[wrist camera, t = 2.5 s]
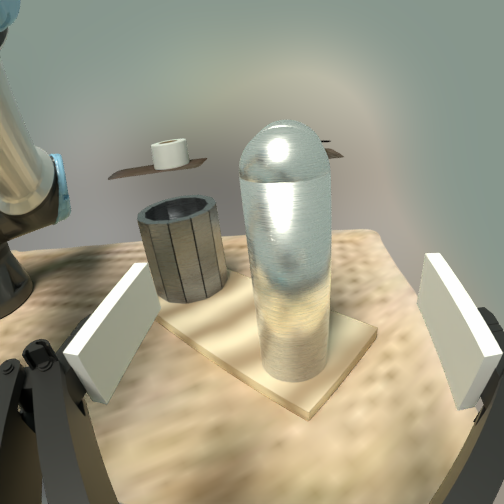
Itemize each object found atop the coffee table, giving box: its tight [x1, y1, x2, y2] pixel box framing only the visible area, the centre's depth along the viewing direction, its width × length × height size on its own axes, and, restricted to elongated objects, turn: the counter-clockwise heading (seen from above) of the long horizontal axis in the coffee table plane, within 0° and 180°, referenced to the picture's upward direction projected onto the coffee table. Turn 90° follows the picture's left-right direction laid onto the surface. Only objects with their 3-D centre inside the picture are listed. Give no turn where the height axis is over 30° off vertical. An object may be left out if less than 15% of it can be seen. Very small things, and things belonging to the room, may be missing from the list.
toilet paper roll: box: [151, 139, 189, 170], centre depth 133 cm, size 16×15×11 cm
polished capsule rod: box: [239, 120, 331, 383], centre depth 27 cm, size 9×6×21 cm
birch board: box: [153, 268, 378, 421], centre depth 38 cm, size 30×13×2 cm, turn 47°
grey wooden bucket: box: [137, 195, 228, 304], centre depth 43 cm, size 10×10×11 cm
